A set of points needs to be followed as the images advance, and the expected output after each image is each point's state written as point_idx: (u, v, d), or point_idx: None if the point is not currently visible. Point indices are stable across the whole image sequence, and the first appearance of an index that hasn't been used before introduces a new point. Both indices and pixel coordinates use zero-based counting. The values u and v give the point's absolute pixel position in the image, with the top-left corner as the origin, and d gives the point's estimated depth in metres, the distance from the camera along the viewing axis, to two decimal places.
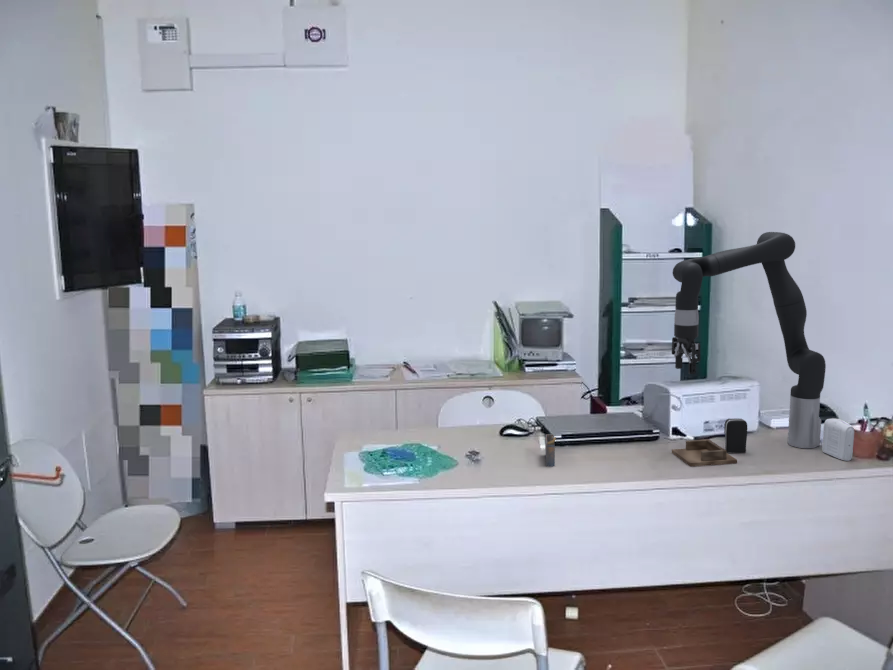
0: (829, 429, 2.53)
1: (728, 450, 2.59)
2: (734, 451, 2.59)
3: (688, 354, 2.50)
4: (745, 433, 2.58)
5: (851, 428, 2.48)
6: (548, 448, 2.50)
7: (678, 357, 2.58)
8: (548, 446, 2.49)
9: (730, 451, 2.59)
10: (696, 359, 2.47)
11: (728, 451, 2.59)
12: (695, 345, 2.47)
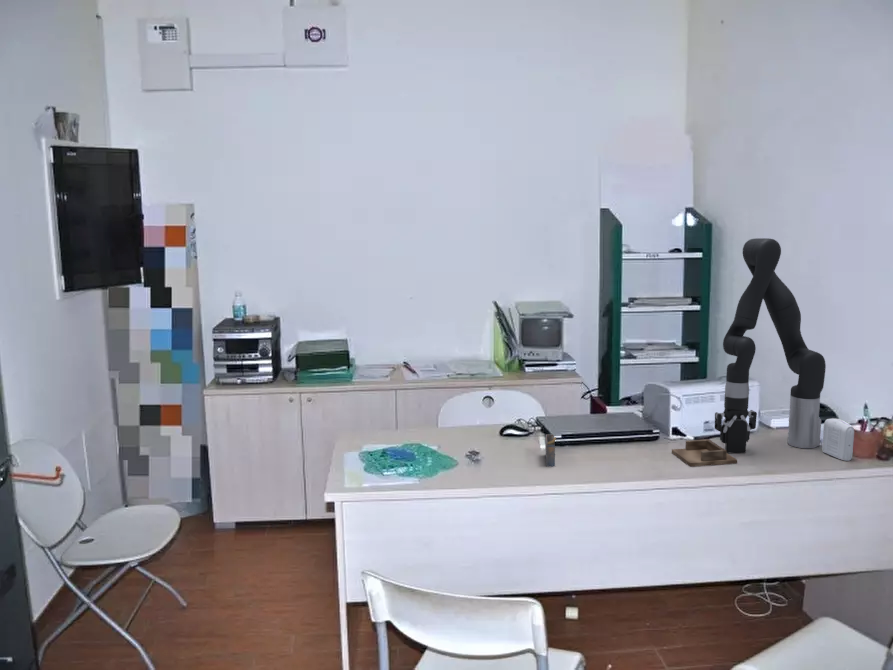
0: (829, 429, 2.53)
1: (728, 450, 2.59)
2: (734, 451, 2.59)
3: None
4: (745, 433, 2.58)
5: (851, 428, 2.48)
6: (548, 448, 2.49)
7: None
8: (548, 446, 2.49)
9: (730, 451, 2.59)
10: None
11: (728, 451, 2.59)
12: None
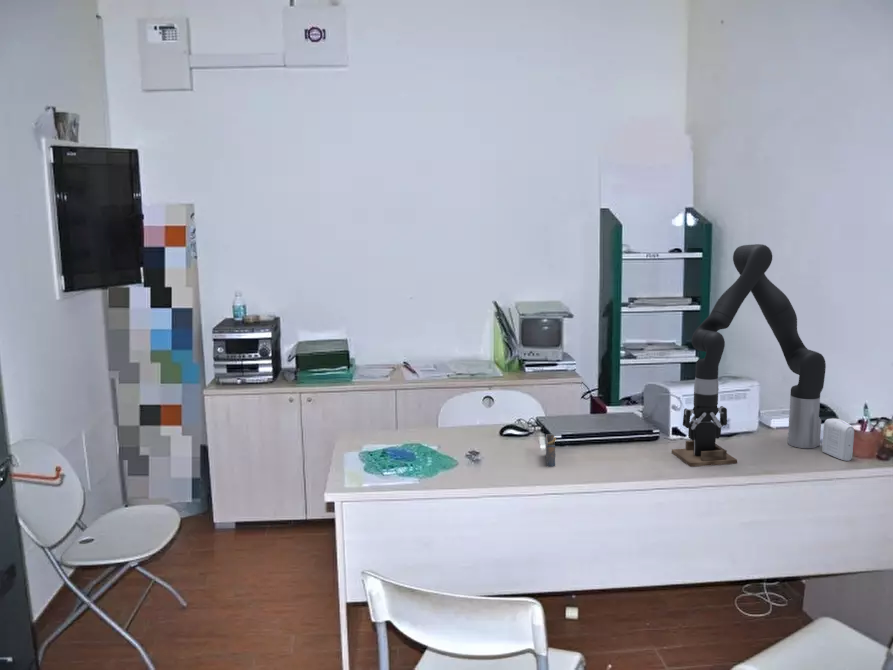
0: (829, 429, 2.53)
1: (697, 453, 2.53)
2: None
3: (718, 420, 2.52)
4: (714, 435, 2.52)
5: (851, 428, 2.48)
6: (548, 448, 2.49)
7: None
8: (548, 446, 2.49)
9: (699, 454, 2.53)
10: None
11: (697, 454, 2.53)
12: None
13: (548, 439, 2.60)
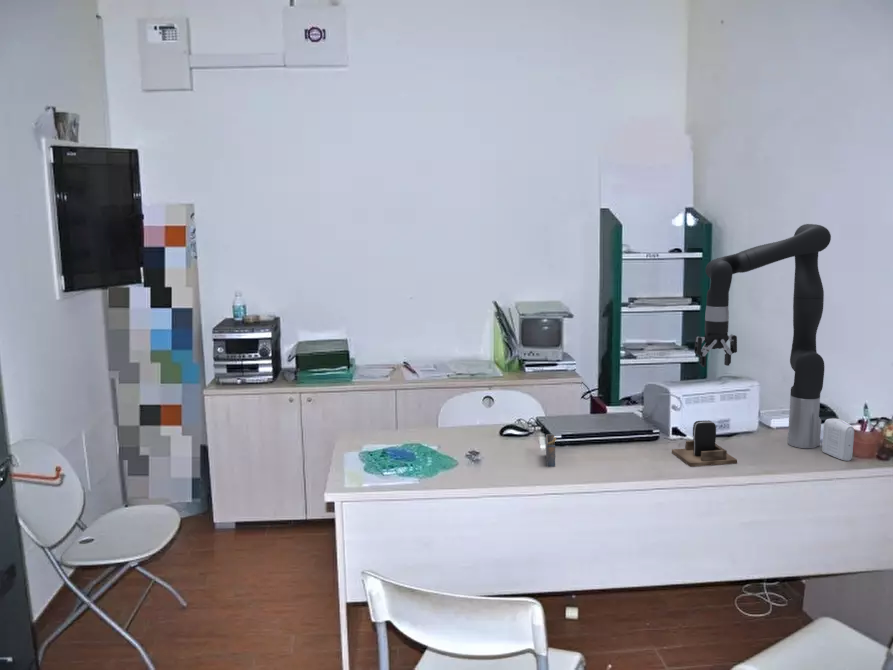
0: (829, 429, 2.53)
1: (697, 453, 2.53)
2: None
3: None
4: (714, 435, 2.52)
5: (851, 428, 2.48)
6: (548, 448, 2.49)
7: None
8: (548, 446, 2.49)
9: (699, 454, 2.53)
10: None
11: (697, 454, 2.53)
12: None
13: (548, 439, 2.60)
